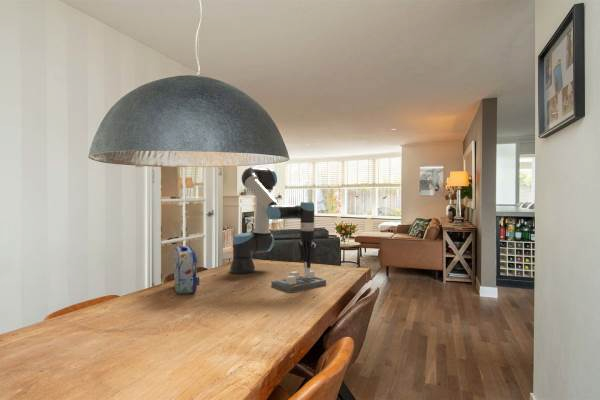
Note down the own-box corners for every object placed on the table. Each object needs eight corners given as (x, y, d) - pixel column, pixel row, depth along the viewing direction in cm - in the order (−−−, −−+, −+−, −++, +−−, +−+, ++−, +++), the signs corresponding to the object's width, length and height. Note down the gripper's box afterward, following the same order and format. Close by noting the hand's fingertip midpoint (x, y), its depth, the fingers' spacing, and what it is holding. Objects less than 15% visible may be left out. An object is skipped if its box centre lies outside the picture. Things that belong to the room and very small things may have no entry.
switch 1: (286, 283, 175) (286, 276, 175) (292, 282, 177) (292, 275, 177) (290, 284, 172) (290, 277, 172) (296, 283, 175) (296, 276, 175)
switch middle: (289, 278, 185) (289, 272, 185) (295, 277, 188) (295, 271, 188) (293, 279, 183) (293, 273, 183) (298, 278, 186) (298, 272, 186)
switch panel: (271, 286, 181) (271, 280, 181) (305, 279, 196) (305, 273, 196) (291, 292, 169) (291, 286, 169) (326, 284, 184) (326, 278, 184)
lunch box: (200, 295, 162) (201, 248, 162) (177, 298, 157) (177, 249, 157) (192, 282, 187) (192, 241, 187) (171, 284, 182) (171, 242, 182)
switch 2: (305, 277, 188) (305, 271, 188) (310, 276, 190) (310, 270, 190) (309, 278, 186) (309, 272, 186) (314, 277, 188) (314, 271, 188)
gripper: (294, 229, 192) (294, 272, 192) (310, 231, 182) (310, 276, 182) (304, 229, 197) (304, 271, 197) (320, 230, 187) (320, 274, 187)
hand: (307, 273), depth 190 cm, fingers closed
